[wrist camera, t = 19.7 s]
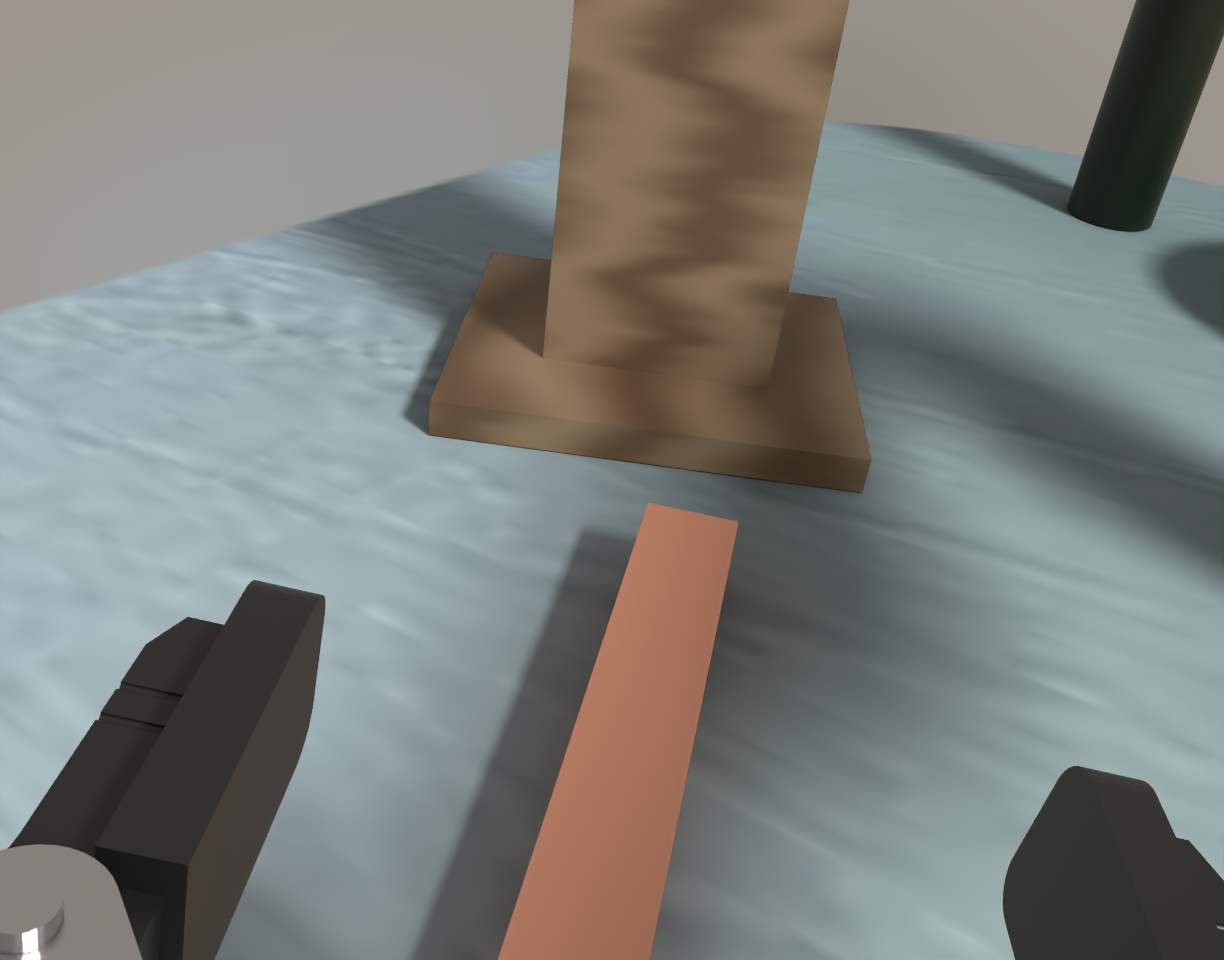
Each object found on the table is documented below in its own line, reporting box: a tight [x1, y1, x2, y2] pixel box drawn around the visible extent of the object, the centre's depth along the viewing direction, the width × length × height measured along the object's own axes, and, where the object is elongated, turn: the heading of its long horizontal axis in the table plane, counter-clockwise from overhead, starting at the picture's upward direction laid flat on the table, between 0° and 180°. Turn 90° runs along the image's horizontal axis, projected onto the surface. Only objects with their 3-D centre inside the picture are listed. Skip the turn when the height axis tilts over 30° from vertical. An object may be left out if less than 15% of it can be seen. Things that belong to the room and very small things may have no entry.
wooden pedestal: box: [429, 0, 871, 493], centre depth 46 cm, size 18×16×33 cm
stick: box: [498, 503, 739, 960], centre depth 31 cm, size 3×26×3 cm, turn 168°
